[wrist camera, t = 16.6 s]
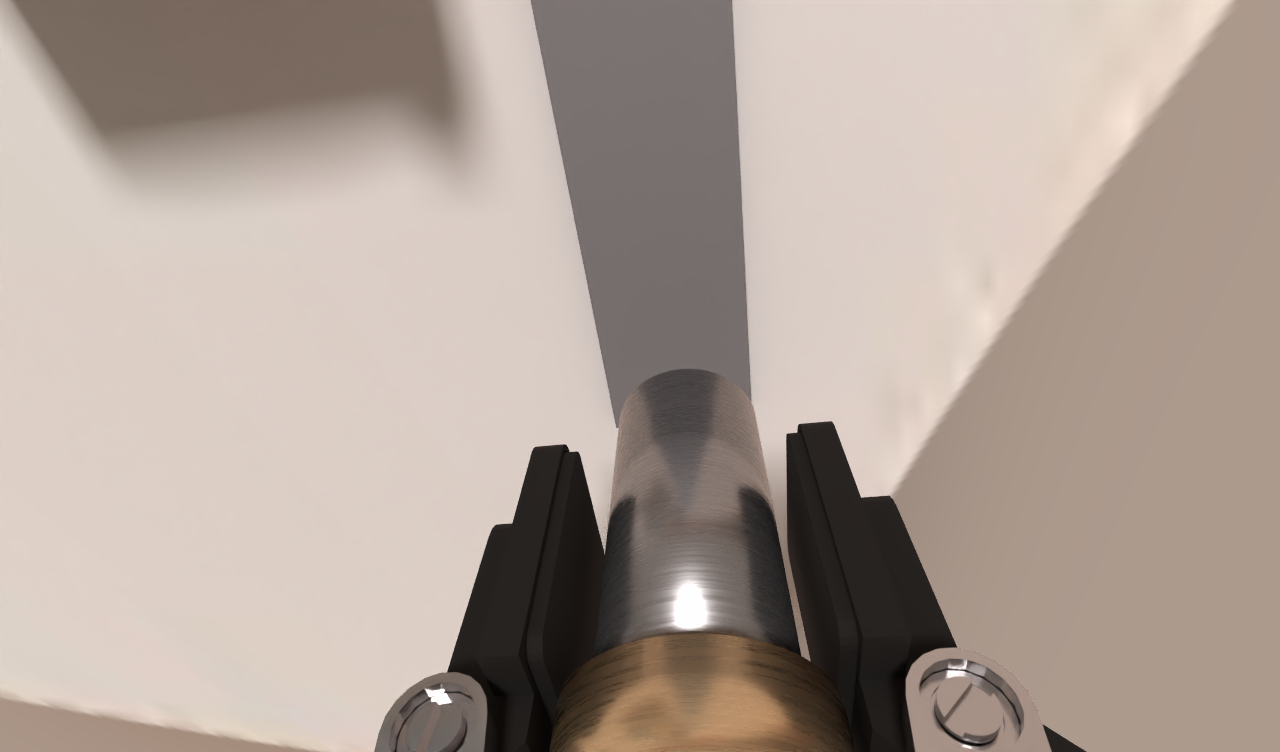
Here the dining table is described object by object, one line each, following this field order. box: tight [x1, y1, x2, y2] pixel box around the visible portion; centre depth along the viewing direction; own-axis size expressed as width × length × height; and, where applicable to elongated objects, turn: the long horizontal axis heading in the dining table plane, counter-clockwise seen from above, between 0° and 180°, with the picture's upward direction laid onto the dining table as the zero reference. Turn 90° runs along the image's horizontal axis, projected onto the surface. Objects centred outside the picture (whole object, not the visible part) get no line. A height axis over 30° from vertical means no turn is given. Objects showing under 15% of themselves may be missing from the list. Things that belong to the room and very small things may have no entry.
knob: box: [549, 369, 856, 752], centre depth 10 cm, size 4×4×8 cm
